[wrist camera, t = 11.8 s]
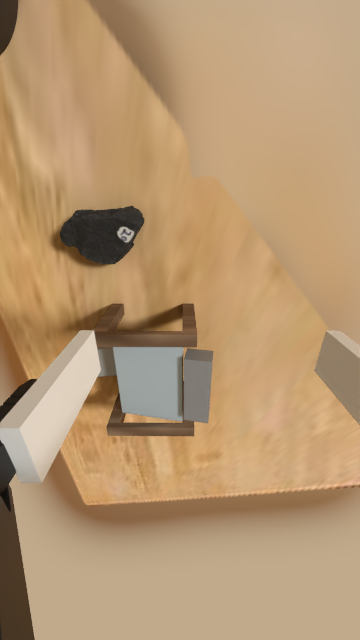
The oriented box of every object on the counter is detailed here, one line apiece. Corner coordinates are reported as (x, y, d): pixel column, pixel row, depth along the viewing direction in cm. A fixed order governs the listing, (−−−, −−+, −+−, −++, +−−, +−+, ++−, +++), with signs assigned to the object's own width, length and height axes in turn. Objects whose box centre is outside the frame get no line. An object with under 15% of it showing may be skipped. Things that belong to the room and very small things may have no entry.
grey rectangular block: (133, 333, 46) (94, 336, 46) (128, 347, 41) (84, 350, 42) (138, 359, 48) (101, 361, 49) (134, 374, 44) (92, 377, 44)
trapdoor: (117, 333, 38) (108, 342, 35) (213, 341, 35) (212, 352, 32) (126, 404, 44) (120, 416, 41) (208, 416, 41) (207, 430, 39)
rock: (102, 179, 35) (88, 173, 30) (150, 218, 37) (144, 219, 32) (72, 235, 38) (54, 239, 33) (117, 268, 41) (107, 277, 35)
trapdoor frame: (112, 303, 43) (88, 334, 32) (193, 303, 43) (197, 334, 32) (123, 388, 51) (108, 435, 41) (191, 388, 51) (194, 436, 40)
